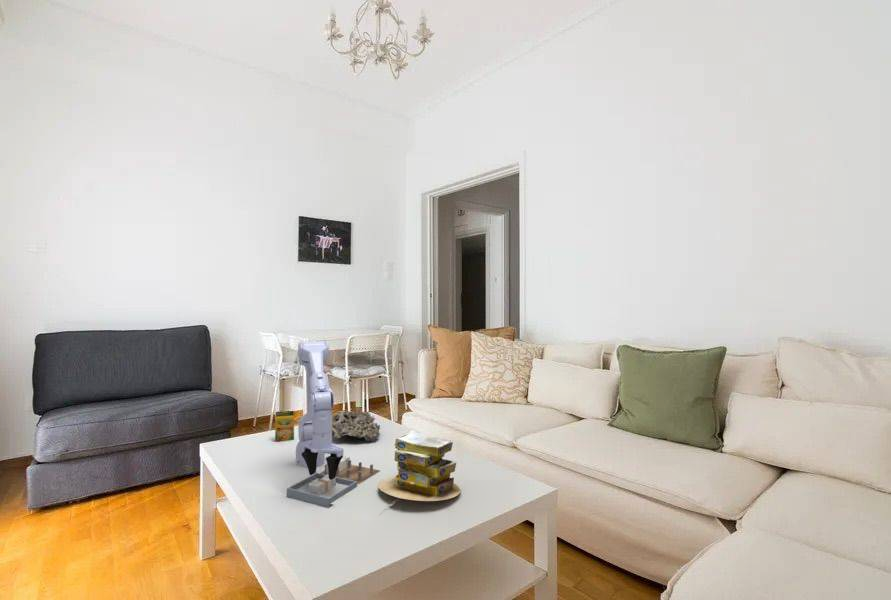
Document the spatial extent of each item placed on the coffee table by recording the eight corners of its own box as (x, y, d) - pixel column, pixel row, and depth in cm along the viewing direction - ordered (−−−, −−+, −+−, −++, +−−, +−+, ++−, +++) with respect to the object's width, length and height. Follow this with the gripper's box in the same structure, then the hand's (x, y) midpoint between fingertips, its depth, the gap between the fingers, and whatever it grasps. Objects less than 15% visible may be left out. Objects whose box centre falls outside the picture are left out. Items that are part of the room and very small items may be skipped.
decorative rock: (324, 445, 177) (324, 419, 178) (331, 433, 202) (332, 410, 204) (380, 442, 180) (380, 417, 181) (380, 431, 205) (380, 409, 207)
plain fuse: (326, 473, 148) (326, 463, 148) (341, 465, 155) (341, 455, 155) (334, 475, 147) (334, 465, 147) (349, 467, 154) (349, 457, 154)
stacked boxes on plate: (416, 470, 154) (416, 421, 153) (476, 489, 138) (476, 435, 138) (361, 496, 134) (360, 440, 134) (423, 521, 119) (423, 459, 119)
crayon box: (275, 442, 183) (274, 413, 183) (275, 439, 186) (274, 411, 186) (294, 439, 186) (294, 411, 186) (293, 437, 188) (293, 410, 188)
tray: (286, 496, 134) (286, 488, 134) (316, 480, 145) (316, 472, 145) (328, 507, 127) (328, 498, 127) (357, 489, 138) (357, 481, 138)
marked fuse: (309, 495, 133) (308, 484, 133) (327, 485, 140) (327, 474, 140) (317, 497, 132) (317, 486, 132) (335, 487, 139) (335, 476, 139)
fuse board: (316, 477, 147) (316, 466, 147) (340, 465, 158) (340, 455, 158) (358, 487, 140) (358, 475, 140) (380, 473, 151) (380, 462, 151)
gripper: (294, 431, 135) (294, 476, 136) (332, 438, 129) (332, 485, 129) (310, 425, 142) (311, 468, 142) (347, 431, 135) (348, 476, 136)
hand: (322, 476), depth 136 cm, fingers open, 7 cm apart
